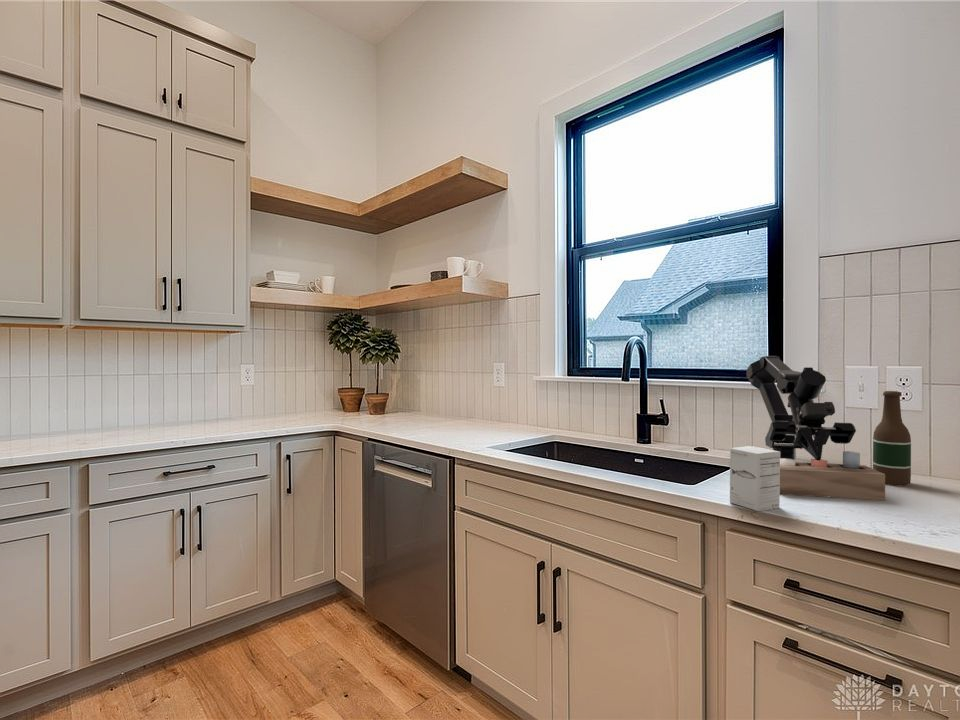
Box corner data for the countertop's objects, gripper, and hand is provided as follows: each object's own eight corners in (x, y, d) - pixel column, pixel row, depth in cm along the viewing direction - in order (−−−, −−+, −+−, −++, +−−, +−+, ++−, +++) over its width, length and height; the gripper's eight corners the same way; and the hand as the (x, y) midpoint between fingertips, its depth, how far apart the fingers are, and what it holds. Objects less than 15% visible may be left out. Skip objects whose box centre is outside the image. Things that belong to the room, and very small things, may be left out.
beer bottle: (873, 477, 141) (873, 389, 140) (910, 481, 136) (911, 391, 135) (872, 483, 134) (872, 391, 134) (911, 487, 130) (911, 392, 129)
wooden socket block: (766, 483, 134) (766, 460, 134) (864, 489, 128) (865, 465, 128) (778, 493, 124) (778, 469, 124) (885, 500, 118) (885, 474, 118)
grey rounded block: (840, 467, 128) (840, 451, 128) (856, 468, 128) (856, 451, 128) (846, 470, 125) (846, 453, 125) (862, 471, 124) (862, 454, 124)
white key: (777, 474, 132) (777, 457, 132) (792, 475, 131) (792, 458, 131) (781, 477, 129) (782, 460, 129) (797, 478, 128) (797, 461, 128)
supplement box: (728, 503, 116) (728, 447, 116) (751, 499, 119) (751, 445, 119) (757, 512, 110) (757, 453, 110) (781, 508, 113) (781, 450, 113)
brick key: (808, 475, 130) (808, 458, 130) (823, 475, 129) (824, 459, 129) (813, 478, 127) (813, 461, 127) (829, 479, 126) (829, 461, 126)
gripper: (771, 390, 136) (784, 438, 125) (852, 391, 131) (873, 441, 120) (763, 416, 143) (774, 464, 133) (839, 418, 138) (858, 468, 128)
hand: (818, 459), depth 128 cm, fingers closed, pressing on brick key
